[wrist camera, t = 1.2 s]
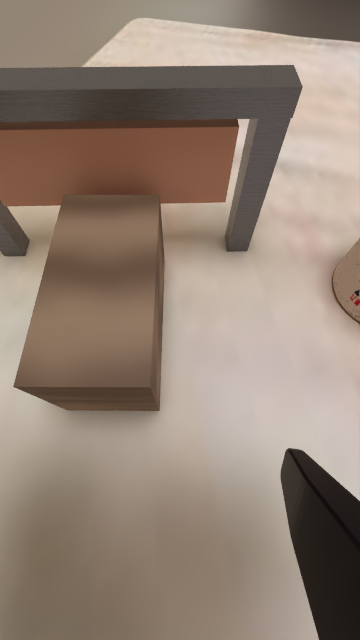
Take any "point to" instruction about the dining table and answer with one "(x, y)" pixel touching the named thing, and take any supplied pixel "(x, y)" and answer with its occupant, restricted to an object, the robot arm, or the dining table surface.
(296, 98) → the gate frame
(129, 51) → the dining table surface
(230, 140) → the flap door
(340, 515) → the robot arm
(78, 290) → the block
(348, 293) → the teacup with lid
